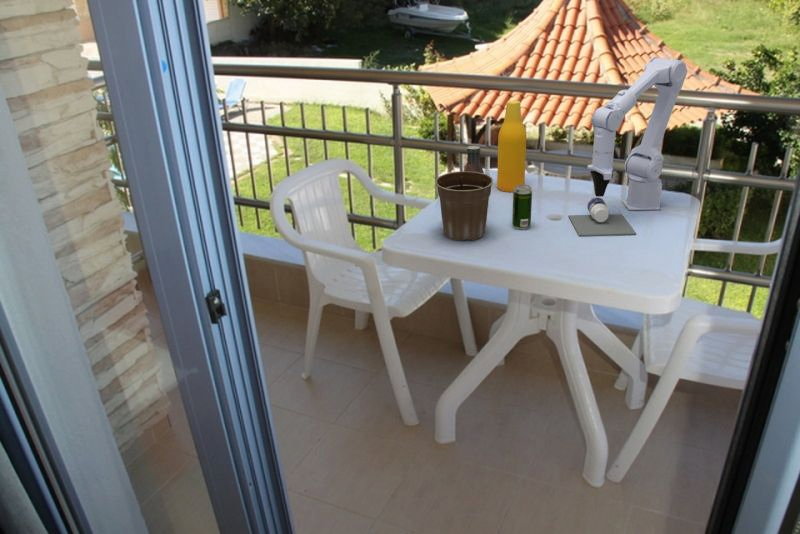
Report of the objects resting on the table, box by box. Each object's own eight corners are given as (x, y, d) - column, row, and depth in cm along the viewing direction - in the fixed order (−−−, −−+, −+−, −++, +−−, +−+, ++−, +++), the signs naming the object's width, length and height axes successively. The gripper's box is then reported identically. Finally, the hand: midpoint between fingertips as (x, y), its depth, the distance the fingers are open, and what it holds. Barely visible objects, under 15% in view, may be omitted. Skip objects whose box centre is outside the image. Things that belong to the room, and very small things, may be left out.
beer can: (534, 228, 200) (535, 189, 195) (517, 231, 199) (519, 191, 194) (524, 221, 205) (526, 183, 200) (508, 224, 203) (510, 186, 198)
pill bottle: (607, 200, 206) (614, 211, 198) (599, 215, 208) (605, 226, 200) (591, 194, 205) (597, 204, 197) (583, 209, 207) (589, 220, 199)
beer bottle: (496, 183, 237) (498, 99, 224) (523, 183, 236) (527, 98, 224) (497, 192, 229) (499, 105, 216) (525, 192, 228) (529, 104, 215)
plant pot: (476, 248, 189) (477, 193, 182) (425, 238, 197) (424, 184, 190) (501, 228, 201) (503, 175, 194) (452, 219, 209) (452, 168, 202)
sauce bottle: (482, 213, 212) (483, 150, 204) (462, 212, 214) (462, 150, 205) (483, 205, 218) (484, 144, 210) (464, 205, 219) (464, 144, 211)
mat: (622, 215, 207) (622, 213, 206) (636, 235, 193) (636, 233, 193) (568, 216, 207) (568, 215, 207) (578, 236, 194) (579, 234, 193)
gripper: (583, 144, 202) (580, 187, 208) (595, 158, 189) (591, 204, 195) (608, 143, 202) (603, 187, 208) (621, 157, 189) (616, 204, 195)
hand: (599, 195), depth 201 cm, fingers closed
